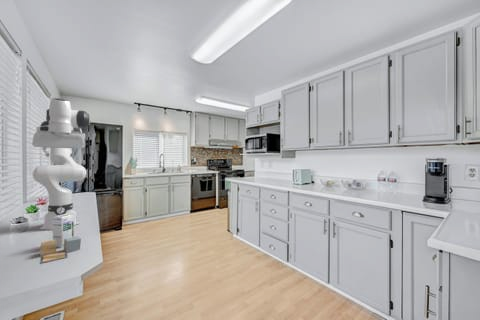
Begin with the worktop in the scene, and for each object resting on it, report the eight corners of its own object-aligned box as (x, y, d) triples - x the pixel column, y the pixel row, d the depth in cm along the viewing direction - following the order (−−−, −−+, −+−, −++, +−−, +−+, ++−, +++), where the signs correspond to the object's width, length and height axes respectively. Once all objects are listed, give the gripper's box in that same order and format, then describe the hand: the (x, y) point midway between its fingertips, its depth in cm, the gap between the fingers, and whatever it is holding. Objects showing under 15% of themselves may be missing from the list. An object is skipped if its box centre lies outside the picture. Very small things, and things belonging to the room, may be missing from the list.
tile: (41, 257, 89) (41, 255, 89) (66, 251, 95) (66, 250, 95) (39, 264, 83) (39, 263, 83) (67, 258, 88) (67, 256, 88)
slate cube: (63, 249, 96) (64, 238, 96) (77, 246, 100) (77, 236, 100) (66, 252, 93) (67, 241, 93) (80, 249, 97) (80, 238, 97)
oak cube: (41, 253, 93) (41, 242, 93) (56, 250, 96) (56, 239, 96) (40, 257, 89) (40, 245, 89) (56, 253, 92) (56, 242, 93)
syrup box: (62, 248, 99) (62, 217, 99) (52, 247, 100) (52, 216, 100) (73, 243, 104) (74, 214, 104) (64, 242, 105) (64, 213, 106)
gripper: (85, 132, 116) (84, 157, 116) (33, 128, 103) (33, 156, 102) (86, 131, 111) (85, 156, 111) (32, 126, 98) (31, 156, 97)
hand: (60, 156), depth 106 cm, fingers open, 8 cm apart
